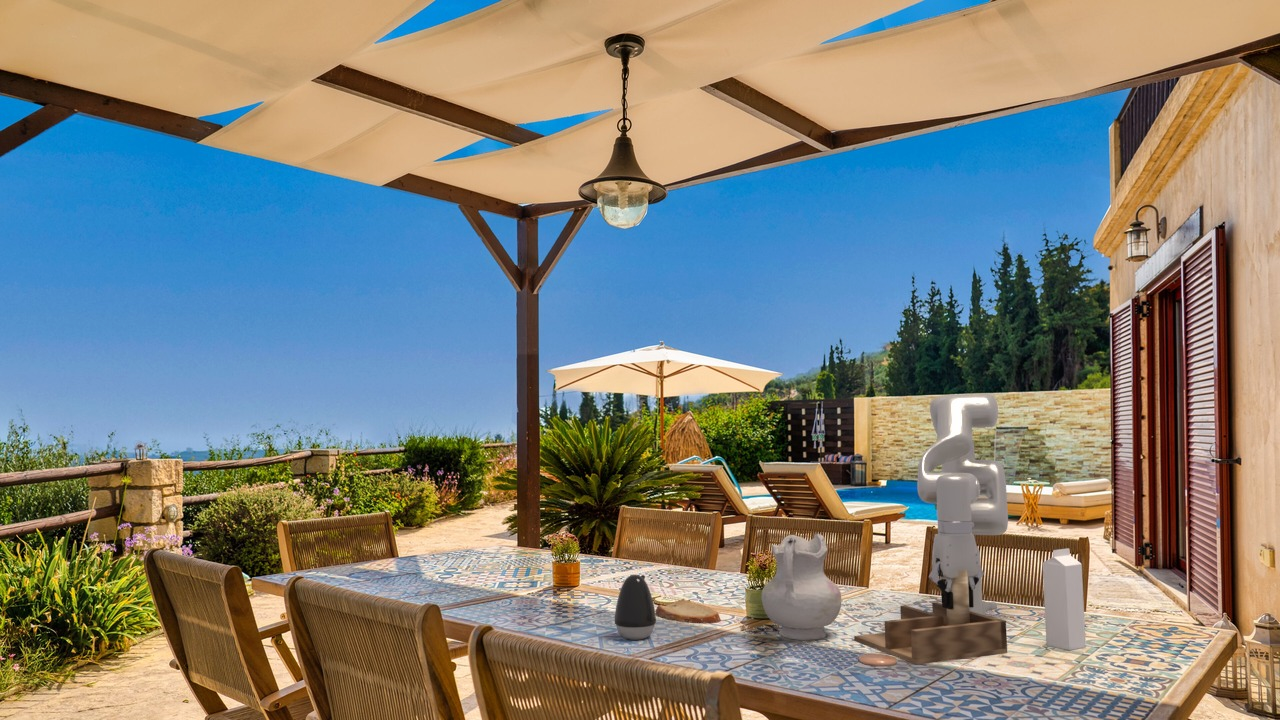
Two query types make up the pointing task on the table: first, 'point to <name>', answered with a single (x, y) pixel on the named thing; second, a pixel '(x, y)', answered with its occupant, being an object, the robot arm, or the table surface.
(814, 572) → the ceramic pitcher
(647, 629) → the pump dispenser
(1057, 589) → the milk
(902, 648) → the channel board
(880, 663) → the pad
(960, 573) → the beech peg
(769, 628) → the table surface
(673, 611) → the bread slice
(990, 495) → the robot arm
